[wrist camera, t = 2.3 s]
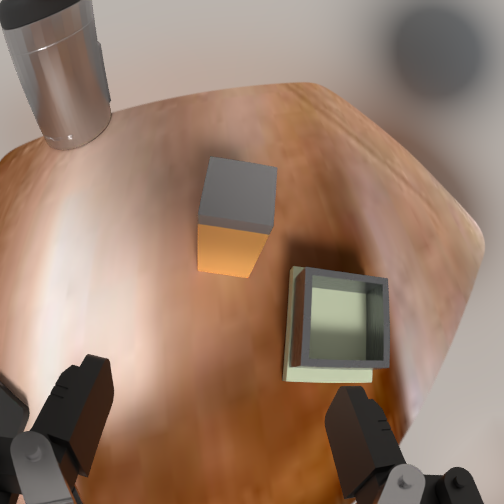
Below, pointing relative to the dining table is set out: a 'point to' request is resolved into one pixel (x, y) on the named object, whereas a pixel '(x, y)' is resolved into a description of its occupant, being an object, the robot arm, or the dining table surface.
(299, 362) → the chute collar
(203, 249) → the chute block
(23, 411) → the smart home device
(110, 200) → the dining table surface
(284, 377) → the cream flat slab
